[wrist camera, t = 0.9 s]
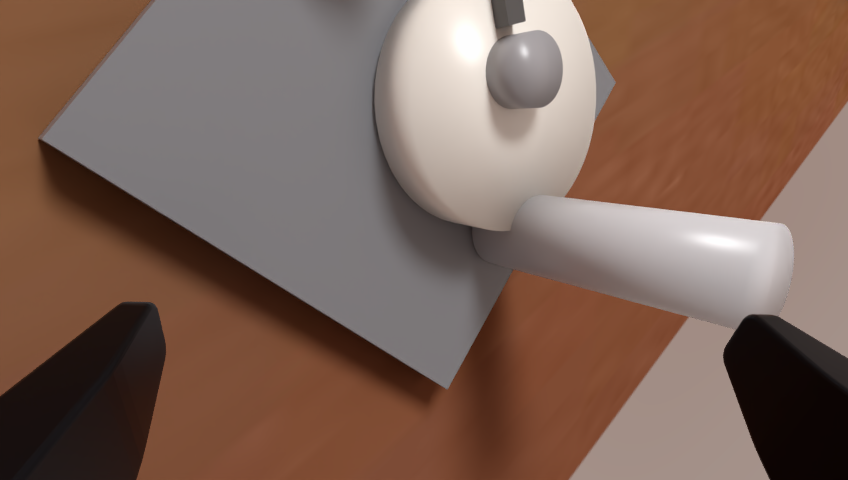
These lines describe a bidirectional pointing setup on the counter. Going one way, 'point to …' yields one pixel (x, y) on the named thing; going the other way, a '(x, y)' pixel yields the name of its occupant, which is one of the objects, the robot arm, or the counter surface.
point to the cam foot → (549, 164)
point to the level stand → (286, 163)
